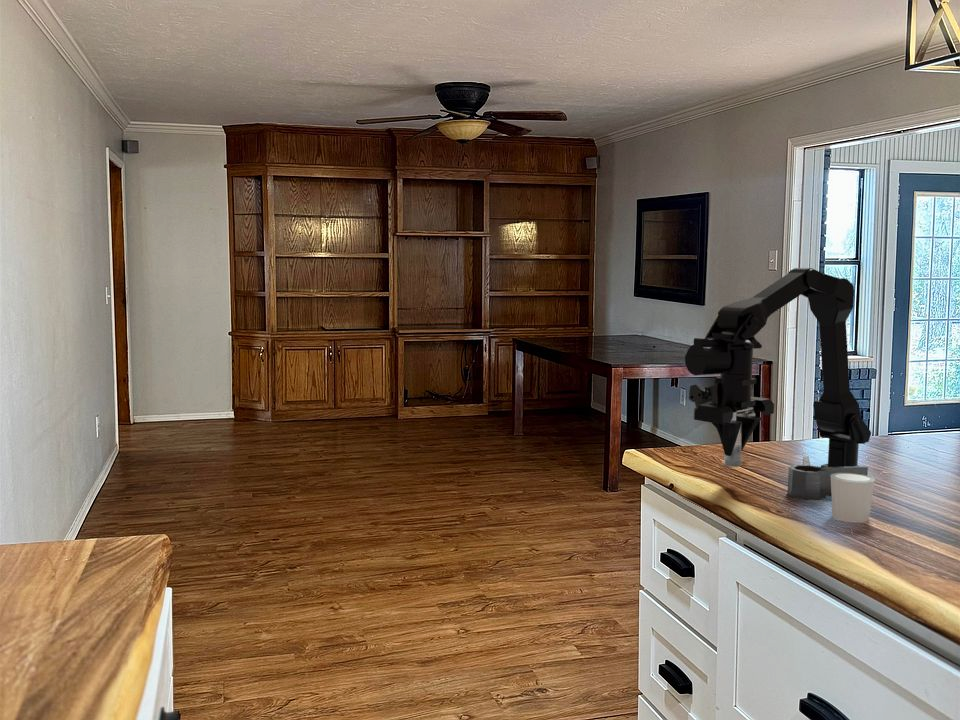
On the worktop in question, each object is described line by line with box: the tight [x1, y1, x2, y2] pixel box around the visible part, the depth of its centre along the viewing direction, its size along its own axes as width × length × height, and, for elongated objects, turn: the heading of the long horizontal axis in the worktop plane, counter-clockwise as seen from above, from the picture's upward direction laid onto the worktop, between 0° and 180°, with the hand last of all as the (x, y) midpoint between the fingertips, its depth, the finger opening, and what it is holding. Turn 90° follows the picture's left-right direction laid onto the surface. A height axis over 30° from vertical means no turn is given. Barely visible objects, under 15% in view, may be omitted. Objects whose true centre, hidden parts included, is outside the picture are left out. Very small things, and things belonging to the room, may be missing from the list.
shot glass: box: [830, 473, 876, 524], centre depth 146 cm, size 7×7×7 cm
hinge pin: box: [723, 424, 742, 468], centre depth 166 cm, size 3×3×8 cm
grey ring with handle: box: [787, 455, 869, 501], centre depth 163 cm, size 14×13×5 cm
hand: (732, 454), depth 167 cm, fingers closed on hinge pin, 3 cm apart
